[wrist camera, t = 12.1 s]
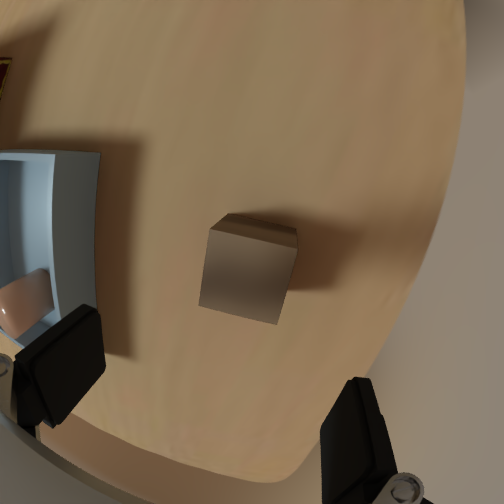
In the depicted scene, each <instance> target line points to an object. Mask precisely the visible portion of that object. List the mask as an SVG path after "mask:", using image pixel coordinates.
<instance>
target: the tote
mask: <svg viewBox="0 0 504 504" xmlns="http://www.w3.org/2000/svg"><path fill="white" fill-rule="evenodd" d="M100 154H101V153H97V152H83V151H66V150H40V149H9V150H0V289H1V288H3V287H5V286H6V285H8V284H10V283H12V282H13V281H15V280H17V279H19V278H21V277H22V276H24V275H26V274H28V273H30V272H32V271H33V270H35V269H37V268H42V269H44V270H46V271H47V272H48V273H49V274H50V277H51V286H52V293H53V300H54V306H55V310H53V311H52V312H50V313H49V314H48V315H46V316H45V317H44V318H42V319H41V320H40V321H38V322H37V323H36V324H34V325H33V326H32V327H31V328H29V329H28V330H27V331H25V332H24V333H23V334H22V335H20V336H19V337H18V338H17V339H13V338H11V337H10V336H8V335H7V334H6V333H5V331H4V330H3V329H2V327H1V326H0V332H1V333H3V334H4V335H5V336H7V337H8V338H9V339H10V340H12V341H13V342H14V343H16V344H17V345H18V346H20V347H21V348H23V349H24V348H25V347H26V346H27V345H29V344H30V343H31V342H32V341H34V340H35V339H36V338H38V337H39V336H40V335H41V334H43V333H44V332H45V331H47V330H48V329H49V328H50V327H52V326H53V325H54V324H56V323H57V322H58V321H60V320H61V319H62V318H64V317H65V316H66V315H68V314H69V313H70V312H72V311H73V310H75V309H76V308H77V307H79V306H80V305H81V304H87V305H89V306H92V307H94V308H96V309H97V303H96V288H95V264H94V231H95V206H96V192H97V180H98V171H99V162H100Z"/></svg>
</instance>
